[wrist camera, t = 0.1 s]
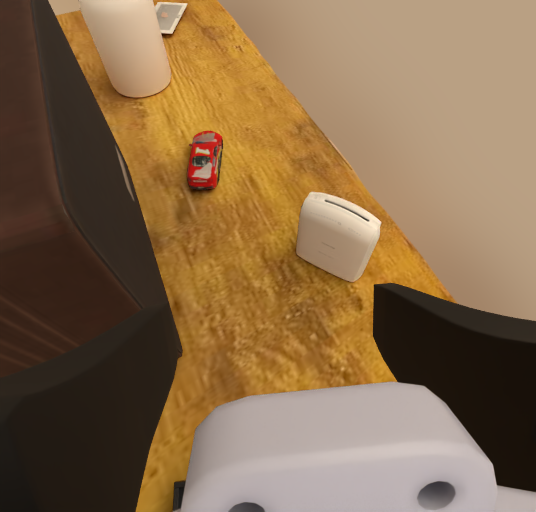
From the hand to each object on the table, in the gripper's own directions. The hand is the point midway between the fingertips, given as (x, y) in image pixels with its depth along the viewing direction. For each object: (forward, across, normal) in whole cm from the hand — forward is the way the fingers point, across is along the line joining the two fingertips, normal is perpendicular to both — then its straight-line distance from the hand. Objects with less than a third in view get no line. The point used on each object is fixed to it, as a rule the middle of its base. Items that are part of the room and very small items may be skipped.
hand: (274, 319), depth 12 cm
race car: (+52, +8, -3) cm, 53 cm away
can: (+72, +22, -21) cm, 78 cm away
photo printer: (+36, -10, +11) cm, 39 cm away
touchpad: (+91, +18, -37) cm, 100 cm away
